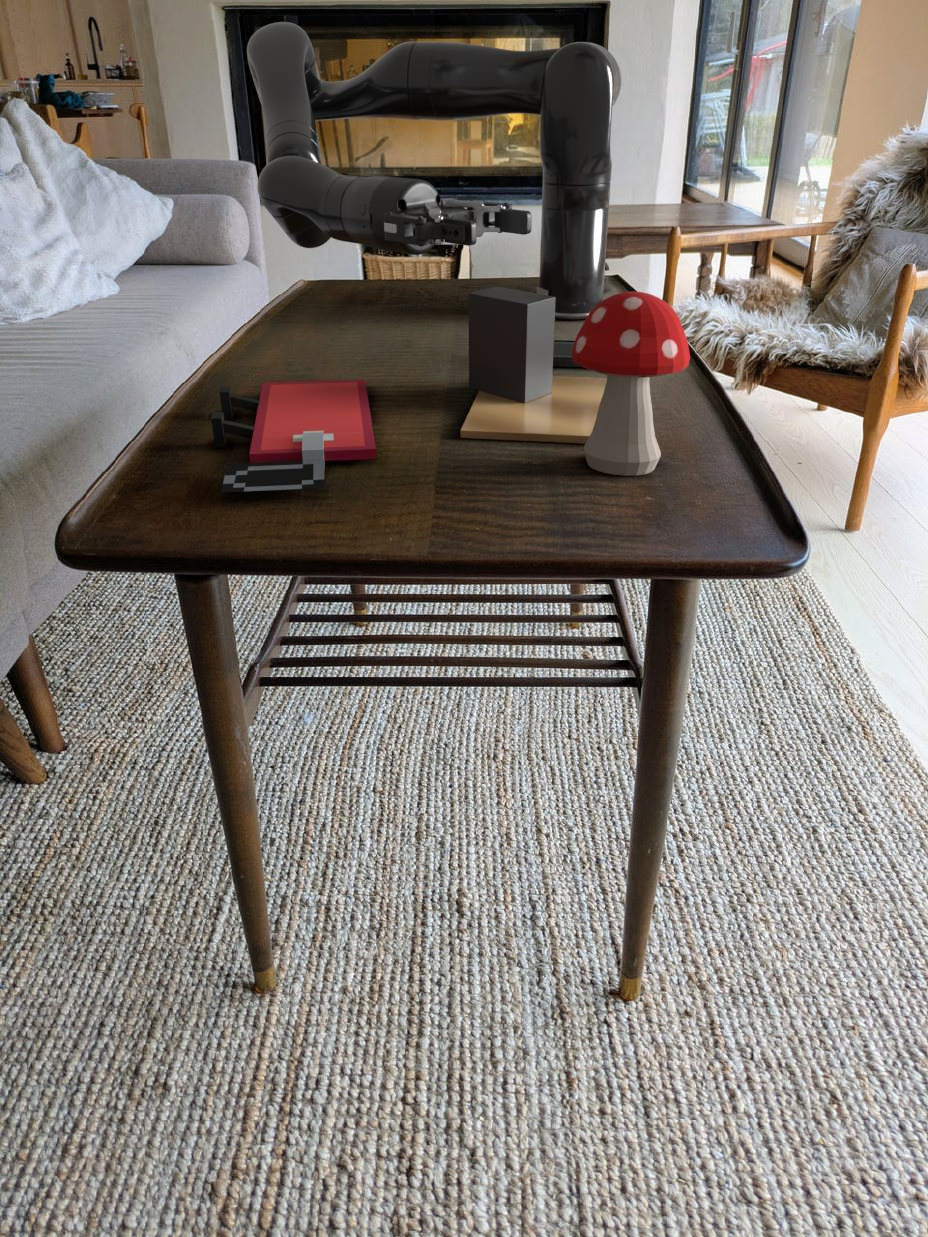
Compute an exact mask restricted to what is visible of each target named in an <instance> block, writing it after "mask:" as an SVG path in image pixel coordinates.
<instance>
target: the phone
mask: <svg viewBox="0 0 928 1237" xmlns="http://www.w3.org/2000/svg"><path fill="white" fill-rule="evenodd" d="M574 343H575V340H571V339H569V340H567V339H554V348H553V367H573V368H583V367H582V366H580V365H577V364H576V363H575V362H574V361H573V360H572V350H573V346H574Z"/></svg>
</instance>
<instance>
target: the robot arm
mask: <svg viewBox="0 0 928 1237" xmlns="http://www.w3.org/2000/svg"><path fill="white" fill-rule="evenodd" d="M246 56H247V64H248V67H249V70H250V74H251V77H252V80H253V83H254V87H255V90H256V92H257V96H258V99H259V102H260V104H261V111H262V118H263V119H262V121H263V135H264V136H263V137H264V149H265V150H264V151H265V161H266V165H265V166H264V167H263V168H262V170H261V172H260V174H259V176H258V180H257V185H256V186H257V193H258V198H259V200H260V202H261V203H262V205H263V206H264V208H265V209H266V210H267V212H268V213H269V214H270V216H271V217H272V218H273V220H275V222H276V223H277V224H278V225H279V227H280V228H281V229H282V231H283V233H285V235H286V236H287V237H288V238H289V239H290V240H291V242H292V243H294V244H295V245H297V246H299V247H302V248H304V249H315V248H319V247H321V246H324V245H325V244H326V243H327V242H328V241H329V240H331V239H334V240H336V241H340V242H343V243H344V242H345V243H351V244H357V245H363V246H366V247H367V248H370V249H375V250H381V251H387V252H393V253H400V254H406V255H410V256H411V255H412V256H420V255H423V254H426V253H428V252H429V251H430V250H431V249H432V248H433V247H434V246H435V245H436V246H441V245H443V244H445V243H447V244H454V245H460V246H467V247H469V246H474V245H476V243H477V238H481V237H482V236H483V235H484V233H497V234H502V233H507V234H515V235H523V236H524V235H528V234H531V232H532V226H533V224H532V222H533V221H532V220H533V215H532V212H531V211H529V210H525V209H515V208H513V204H512V203H509V202H494V201H483V200H475V199H469V200H458V199H457V198H454V197H443V198H441V196H440V194H439V191H438V190H437V189H436V188H435V187H434V185H432V184H431V183H430V182H429V181H427V180H424V179H420V178H410V177H398V176H388V175H387V176H385V175H371V176H356V175H345V174H342V173H340V172H338V171H336V170H334V169H332V168H331V167H328V166H326V165H324V164H323V156H322V155H323V154H322V148H321V142H320V137H319V131H318V127H317V123H316V122H322V121H323V122H324V121H334V120H347V119H349V120H350V119H394V120H395V119H396V120H411V121H412V120H413V121H434V122H435V121H437V122H440V121H441V122H442V121H443V122H444V121H446V122H448V121H449V122H450V121H463V120H464V121H465V120H474V119H475V120H476V119H482V118H489V117H497V116H503V115H512V114H513V115H514V114H515V115H517V114H518V115H520V114H522V115H533V116H540V117H539V154H540V162H541V166H542V167H541V168H542V178H541V179H542V180H541V181H542V184H541V185H542V186H541V223H540V248H539V251H540V252H539V280H538V283H539V284H538V286H536V293H537V294H542V295H548V296H553V297H556V300H555V319H558V320H586V318H587V316H588V315H589V313H590V312H591V310H592V309H593V308H594V307H595V306H596V305H597V304H599V303H600V302H602V301H603V300H604V291H605V289H606V288H607V286H608V284H609V283H608V280H607V279H606V277H605V273H606V272H605V271H610V267H609V264H608V263H607V260H606V259H607V247H608V246H607V245H608V244H607V243H608V231H609V230H608V227H609V216H610V214H609V213H610V198H611V184H612V183H611V181H612V170H613V169H612V168H613V161H612V155H611V154H612V153H611V133H612V115H613V107H614V106H615V104H616V102H617V100H618V98H619V96H620V93H621V89H622V74H621V69H620V66H619V64H618V61H617V60H616V58H615V57H614V55H613V54H612V53H611V52H610V51H609V49H607V48H605V47H603V46H602V45H600V44H597V43H595V42H588V41H576V42H571V43H567V44H566V45H564V46H562V47H557V48H547V49H545V48H544V49H535V50H511V49H506V48H500V47H494V46H488V45H487V46H486V45H481V44H473V43H467V42H466V43H464V42H455V41H443V40H442V41H439V40H438V41H437V40H435V41H434V40H432V41H429V40H427V41H426V40H423V41H422V40H420V41H419V40H416V41H415V40H413V41H404V42H401V43H399V44H397V45H395V46H394V47H392V48H391V49H389V50H388V51H387V52H386V53H384V54H382V55H381V56H380V57H379V58H378V59H377V60H376V61H374V62H373V63H372V64H371V65H370V66H368V67H367V68H366V69H365V70H363V71H362V72H361V73H359V74H358V75H356V76H354V77H351V78H349V79H344V80H338V81H327V80H323V79H322V77H321V74H320V69H319V65H318V62H317V58H316V54H315V51H314V47H313V44H312V41H311V39H310V37H309V35H308V34H307V32H306V31H305V30H304V29H303V28H302V27H301V26H299V25H297V24H296V23H293V22H288V21H278V22H272V23H269V24H267V25H264V26H262V27H260V28H259V29H257V30H256V31H255V32H254V33H253V34H252V35H251V36H250V38H249V40H248V42H247V46H246Z"/></svg>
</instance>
